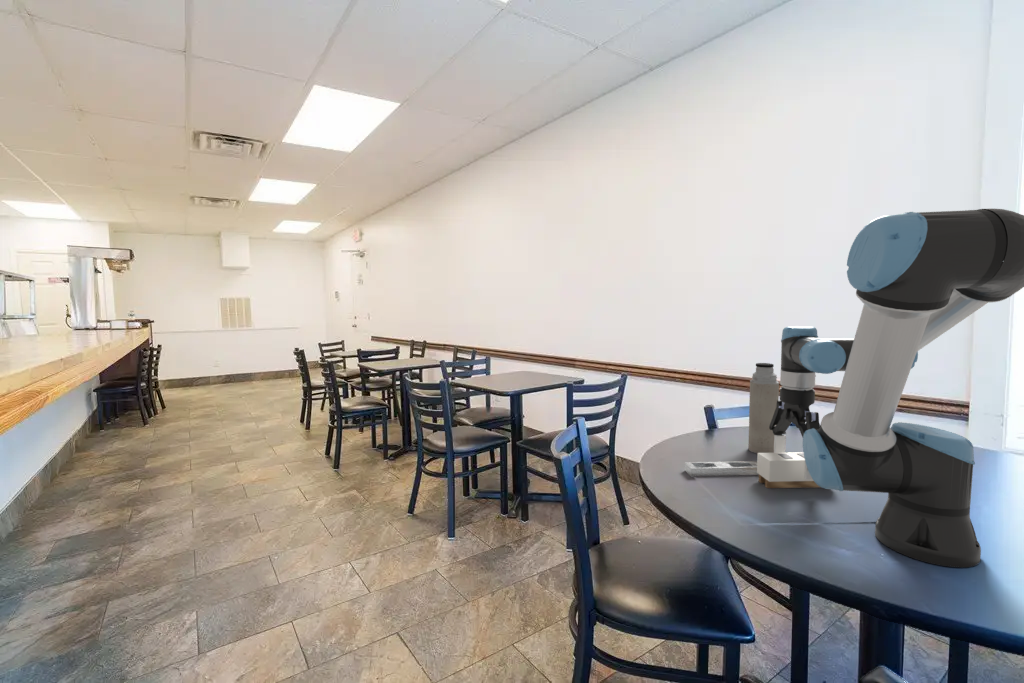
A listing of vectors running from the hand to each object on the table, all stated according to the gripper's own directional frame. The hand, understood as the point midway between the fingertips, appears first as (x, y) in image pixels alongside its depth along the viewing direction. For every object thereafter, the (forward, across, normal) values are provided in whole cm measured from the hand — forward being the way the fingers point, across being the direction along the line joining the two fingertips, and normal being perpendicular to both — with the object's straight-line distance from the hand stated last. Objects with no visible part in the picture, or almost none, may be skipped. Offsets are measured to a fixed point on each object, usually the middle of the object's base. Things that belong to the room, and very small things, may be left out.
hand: (794, 468), depth 117 cm
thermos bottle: (+5, +27, -6) cm, 28 cm away
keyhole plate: (+5, +9, +14) cm, 17 cm away
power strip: (+4, 0, 0) cm, 4 cm away
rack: (+4, 0, 0) cm, 5 cm away
